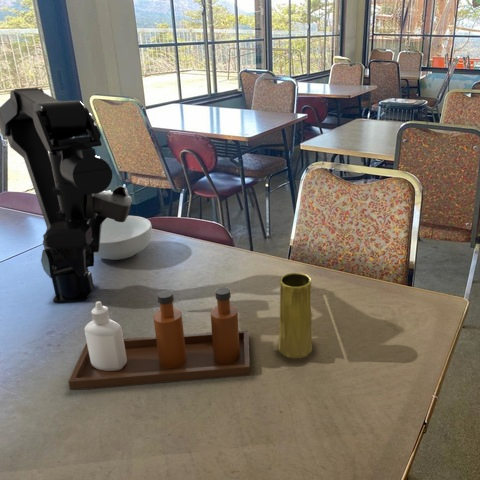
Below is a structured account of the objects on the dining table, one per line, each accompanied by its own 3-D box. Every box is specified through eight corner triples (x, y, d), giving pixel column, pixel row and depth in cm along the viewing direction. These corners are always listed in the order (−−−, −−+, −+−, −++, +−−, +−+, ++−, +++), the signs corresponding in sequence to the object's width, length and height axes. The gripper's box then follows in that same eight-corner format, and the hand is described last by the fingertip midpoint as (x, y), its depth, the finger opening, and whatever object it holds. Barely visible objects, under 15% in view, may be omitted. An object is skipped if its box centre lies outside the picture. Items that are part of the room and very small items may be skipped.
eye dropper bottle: (105, 378, 77) (93, 314, 72) (88, 363, 80) (75, 301, 75) (130, 365, 80) (120, 303, 75) (113, 351, 83) (102, 291, 78)
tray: (70, 392, 74) (68, 381, 74) (89, 351, 84) (87, 341, 83) (250, 377, 79) (249, 366, 78) (248, 339, 88) (247, 329, 88)
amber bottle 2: (213, 365, 80) (208, 298, 75) (214, 349, 84) (209, 285, 79) (239, 363, 81) (236, 296, 76) (239, 347, 85) (236, 283, 80)
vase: (286, 364, 82) (286, 291, 76) (272, 345, 87) (271, 275, 81) (318, 355, 85) (320, 284, 79) (303, 336, 90) (304, 268, 84)
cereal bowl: (95, 240, 127) (91, 215, 124) (160, 239, 129) (157, 214, 126) (72, 269, 112) (66, 241, 109) (146, 267, 113) (142, 240, 111)
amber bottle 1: (157, 369, 79) (148, 302, 74) (161, 353, 83) (152, 288, 78) (185, 367, 80) (177, 300, 74) (187, 351, 84) (180, 286, 78)
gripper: (111, 195, 73) (125, 285, 79) (134, 164, 90) (144, 240, 96) (32, 197, 71) (53, 289, 78) (71, 165, 88) (85, 242, 94)
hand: (89, 262), depth 87 cm, fingers open, 9 cm apart
